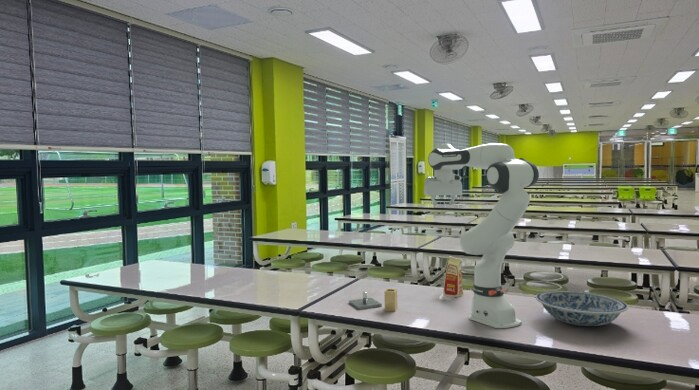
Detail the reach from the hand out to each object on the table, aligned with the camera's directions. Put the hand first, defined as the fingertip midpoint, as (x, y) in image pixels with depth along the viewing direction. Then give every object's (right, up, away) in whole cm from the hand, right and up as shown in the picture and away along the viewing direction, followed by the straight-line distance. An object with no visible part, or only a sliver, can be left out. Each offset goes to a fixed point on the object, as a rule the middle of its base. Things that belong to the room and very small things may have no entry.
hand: (443, 204), depth 229 cm
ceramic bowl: (+50, -49, -36) cm, 78 cm away
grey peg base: (-39, -49, -5) cm, 62 cm away
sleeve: (-27, -49, -13) cm, 57 cm away
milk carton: (+8, -47, +10) cm, 49 cm away
